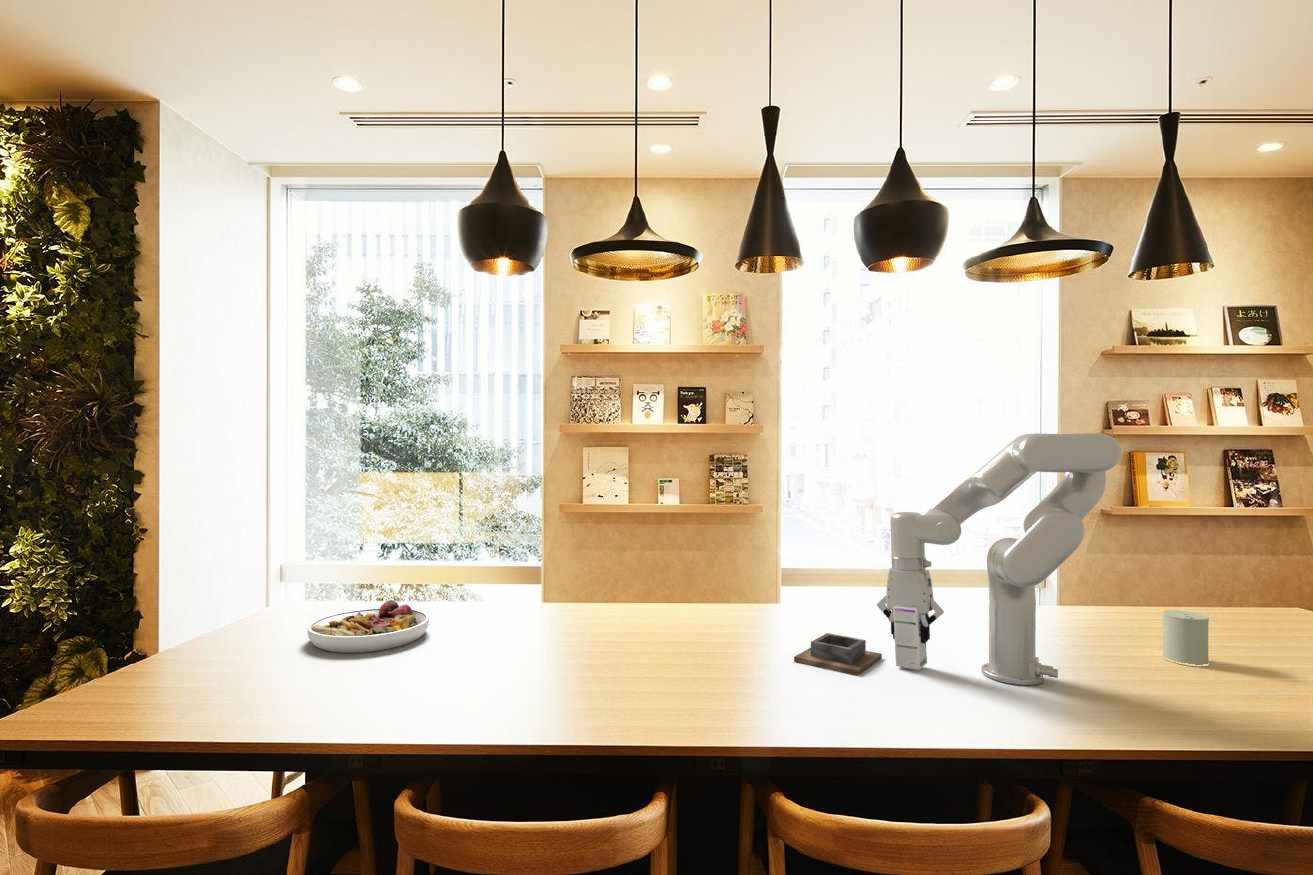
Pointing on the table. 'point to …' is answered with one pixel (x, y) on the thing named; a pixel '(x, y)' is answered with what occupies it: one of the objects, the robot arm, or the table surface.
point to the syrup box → (908, 638)
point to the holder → (839, 654)
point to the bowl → (369, 629)
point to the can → (1185, 637)
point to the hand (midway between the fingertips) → (910, 639)
